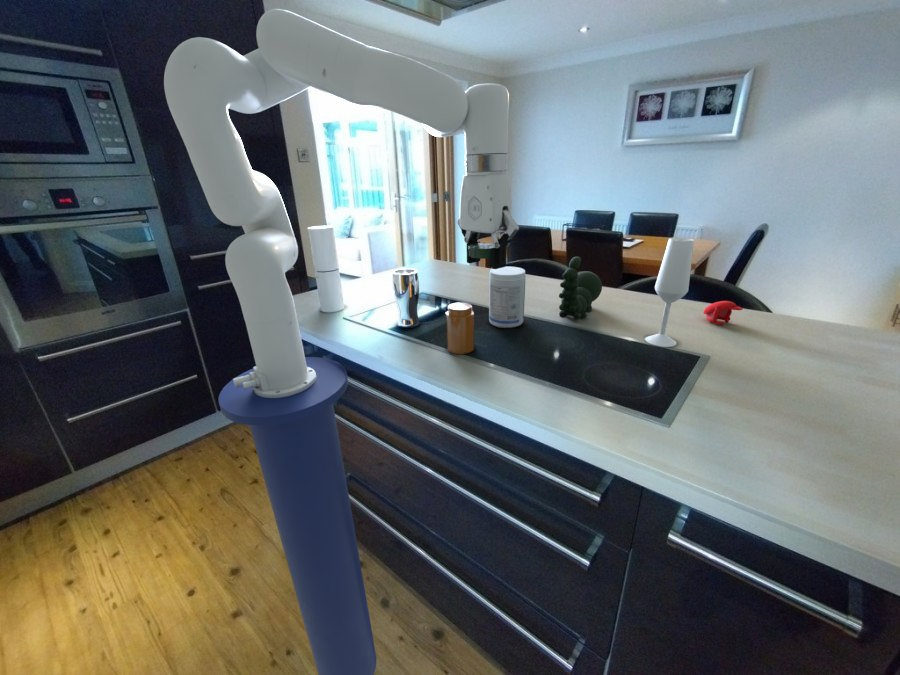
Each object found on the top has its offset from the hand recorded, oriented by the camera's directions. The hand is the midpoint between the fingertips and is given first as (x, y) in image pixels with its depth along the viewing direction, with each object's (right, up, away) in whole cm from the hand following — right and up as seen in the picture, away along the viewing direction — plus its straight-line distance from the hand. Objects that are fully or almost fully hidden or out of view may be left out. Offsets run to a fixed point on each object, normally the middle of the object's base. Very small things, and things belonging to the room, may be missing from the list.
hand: (485, 264), depth 77 cm
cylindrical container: (-44, -5, +46) cm, 64 cm away
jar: (-5, -17, +16) cm, 24 cm away
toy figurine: (+30, -8, +36) cm, 47 cm away
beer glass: (-19, -11, +32) cm, 38 cm away
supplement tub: (+8, -11, +30) cm, 33 cm away
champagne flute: (+44, -16, +16) cm, 49 cm away
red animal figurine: (+64, -11, +26) cm, 70 cm away
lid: (0, +3, -1) cm, 3 cm away
